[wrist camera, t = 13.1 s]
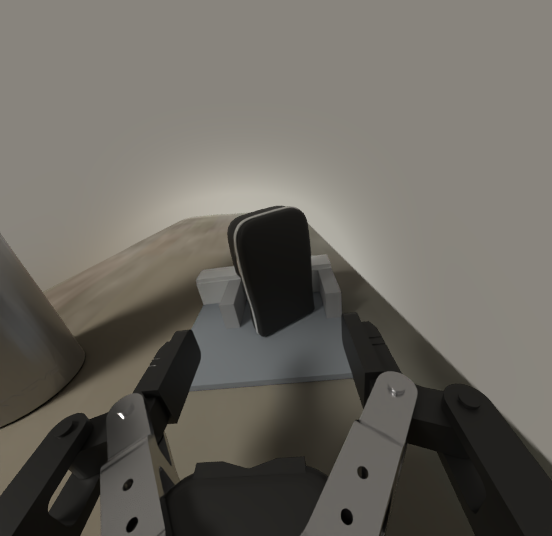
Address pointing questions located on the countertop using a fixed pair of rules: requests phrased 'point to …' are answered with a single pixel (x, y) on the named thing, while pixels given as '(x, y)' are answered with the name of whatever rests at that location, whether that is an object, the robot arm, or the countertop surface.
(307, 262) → the black rounded block
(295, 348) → the bracket
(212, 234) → the countertop surface
